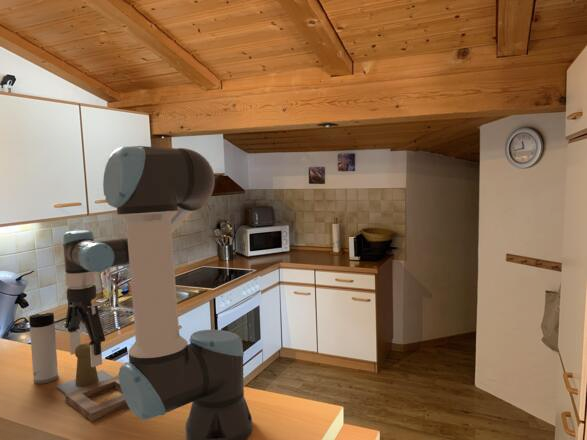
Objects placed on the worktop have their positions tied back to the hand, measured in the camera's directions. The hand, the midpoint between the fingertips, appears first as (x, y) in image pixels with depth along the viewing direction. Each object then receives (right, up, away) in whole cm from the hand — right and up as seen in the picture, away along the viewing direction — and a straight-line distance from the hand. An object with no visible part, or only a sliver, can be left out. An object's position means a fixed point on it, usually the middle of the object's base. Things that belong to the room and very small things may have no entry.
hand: (85, 359), depth 124 cm
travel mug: (-14, -7, +4) cm, 16 cm away
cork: (0, -7, +1) cm, 7 cm away
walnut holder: (+9, -8, -8) cm, 15 cm away
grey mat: (0, -7, +1) cm, 7 cm away
